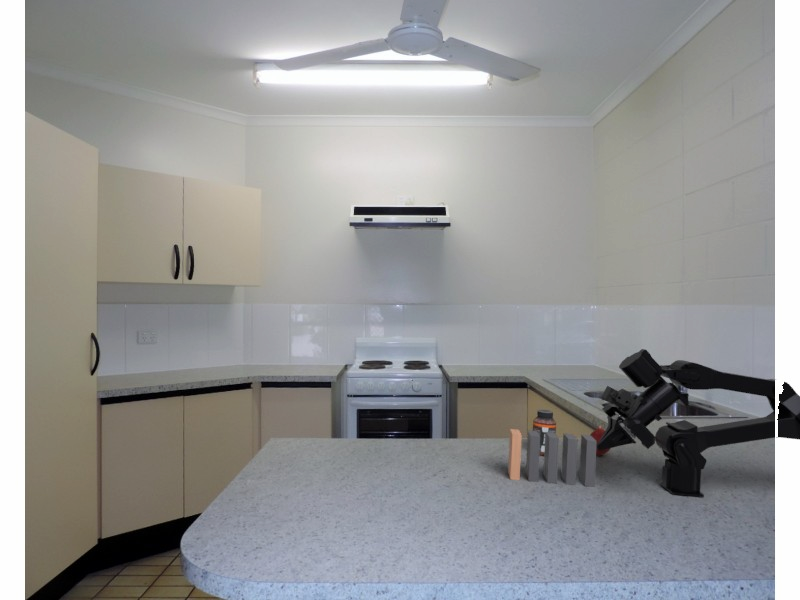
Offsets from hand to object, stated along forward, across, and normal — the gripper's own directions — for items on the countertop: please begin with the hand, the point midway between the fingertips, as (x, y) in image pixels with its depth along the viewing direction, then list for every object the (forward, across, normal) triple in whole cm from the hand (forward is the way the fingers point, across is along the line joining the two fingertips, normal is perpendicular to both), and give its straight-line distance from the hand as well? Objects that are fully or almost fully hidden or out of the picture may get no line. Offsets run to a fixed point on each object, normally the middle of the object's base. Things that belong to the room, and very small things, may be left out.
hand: (597, 448), depth 111 cm
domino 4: (+10, 0, +1) cm, 10 cm away
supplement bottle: (+11, -21, 0) cm, 24 cm away
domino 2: (+15, 0, -4) cm, 16 cm away
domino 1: (+18, 0, -7) cm, 20 cm away
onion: (0, -23, +11) cm, 25 cm away
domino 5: (+7, 0, +4) cm, 8 cm away
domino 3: (+12, 0, -2) cm, 13 cm away
